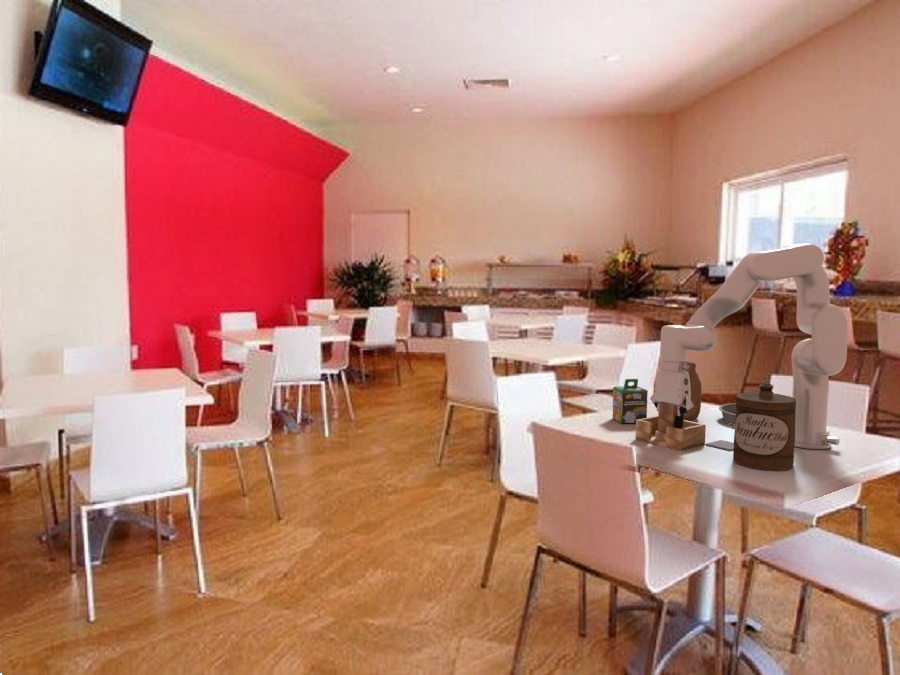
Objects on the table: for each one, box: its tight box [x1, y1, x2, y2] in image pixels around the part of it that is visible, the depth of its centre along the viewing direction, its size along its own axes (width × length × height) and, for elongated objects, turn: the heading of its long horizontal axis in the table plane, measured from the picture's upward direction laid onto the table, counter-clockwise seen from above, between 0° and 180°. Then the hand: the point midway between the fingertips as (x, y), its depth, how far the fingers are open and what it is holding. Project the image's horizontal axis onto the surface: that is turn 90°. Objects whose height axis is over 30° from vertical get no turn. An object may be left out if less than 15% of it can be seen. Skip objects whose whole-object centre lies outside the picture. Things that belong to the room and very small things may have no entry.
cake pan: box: [718, 402, 736, 426], centre depth 233 cm, size 25×25×4 cm
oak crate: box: [634, 415, 707, 451], centre depth 206 cm, size 16×12×6 cm
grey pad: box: [705, 439, 734, 452], centre depth 202 cm, size 8×8×1 cm
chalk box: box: [612, 378, 649, 424], centre depth 233 cm, size 9×9×15 cm
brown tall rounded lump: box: [683, 360, 702, 421], centre depth 238 cm, size 11×8×20 cm
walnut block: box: [658, 402, 682, 433], centre depth 205 cm, size 5×5×9 cm
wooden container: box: [732, 382, 796, 472], centre depth 183 cm, size 15×15×22 cm
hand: (670, 425), depth 205 cm, fingers closed on walnut block, 5 cm apart
